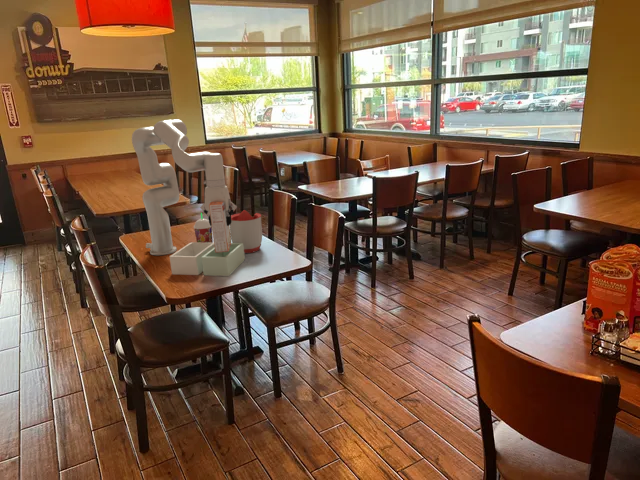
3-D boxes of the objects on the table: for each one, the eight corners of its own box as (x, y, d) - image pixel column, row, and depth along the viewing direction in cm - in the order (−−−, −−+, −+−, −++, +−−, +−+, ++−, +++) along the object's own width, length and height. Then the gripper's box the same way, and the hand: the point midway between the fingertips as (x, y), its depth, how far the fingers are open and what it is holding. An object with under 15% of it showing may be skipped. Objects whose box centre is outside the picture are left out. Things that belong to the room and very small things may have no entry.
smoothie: (218, 251, 226) (214, 211, 220) (207, 256, 219) (202, 215, 213) (204, 249, 230) (199, 210, 224) (193, 255, 223) (188, 214, 217)
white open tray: (172, 274, 199) (169, 256, 196) (193, 258, 218) (190, 242, 215) (198, 275, 196) (195, 257, 194) (217, 259, 215) (215, 242, 213)
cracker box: (218, 243, 208) (212, 197, 202) (231, 242, 208) (226, 196, 203) (214, 253, 195) (208, 204, 189) (228, 252, 195) (223, 203, 189)
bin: (203, 275, 196) (201, 257, 194) (222, 259, 215) (220, 242, 212) (228, 275, 194) (226, 257, 191) (244, 259, 213) (243, 243, 210)
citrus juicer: (270, 244, 233) (267, 205, 227) (256, 256, 217) (252, 214, 211) (241, 243, 237) (237, 205, 232) (225, 254, 221) (221, 213, 216)
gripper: (192, 185, 192) (197, 227, 197) (232, 184, 188) (236, 227, 193) (200, 182, 199) (205, 222, 204) (238, 181, 195) (242, 222, 200)
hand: (220, 224), depth 199 cm, fingers closed on cracker box, 6 cm apart
